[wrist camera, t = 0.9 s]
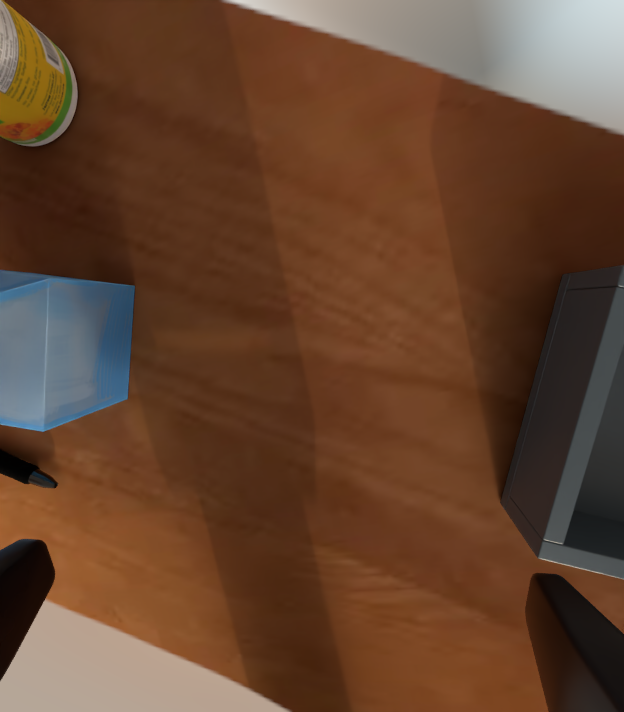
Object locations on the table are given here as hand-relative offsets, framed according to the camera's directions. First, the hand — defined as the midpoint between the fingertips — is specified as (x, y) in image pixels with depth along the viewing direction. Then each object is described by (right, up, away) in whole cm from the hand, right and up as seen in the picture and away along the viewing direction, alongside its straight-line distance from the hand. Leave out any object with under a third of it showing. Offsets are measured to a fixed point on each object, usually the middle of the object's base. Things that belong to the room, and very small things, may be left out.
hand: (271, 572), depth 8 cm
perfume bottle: (-12, +5, +16) cm, 21 cm away
